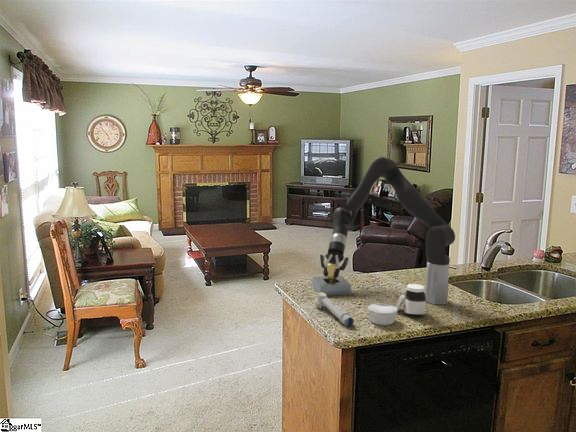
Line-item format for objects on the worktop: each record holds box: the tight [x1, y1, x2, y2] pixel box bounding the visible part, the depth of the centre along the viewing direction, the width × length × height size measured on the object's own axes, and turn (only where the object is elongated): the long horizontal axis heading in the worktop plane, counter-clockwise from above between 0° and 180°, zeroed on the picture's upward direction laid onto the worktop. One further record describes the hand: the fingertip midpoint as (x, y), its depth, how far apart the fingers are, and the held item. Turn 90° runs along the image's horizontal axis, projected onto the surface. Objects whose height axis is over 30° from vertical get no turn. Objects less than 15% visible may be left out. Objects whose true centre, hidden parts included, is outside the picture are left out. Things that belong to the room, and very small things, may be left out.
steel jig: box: [312, 275, 352, 296], centre depth 221 cm, size 14×14×4 cm
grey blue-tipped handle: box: [314, 292, 355, 327], centre depth 190 cm, size 5×7×25 cm
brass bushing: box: [326, 262, 337, 283], centre depth 220 cm, size 4×4×10 cm
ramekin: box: [367, 302, 398, 326], centre depth 185 cm, size 11×11×5 cm
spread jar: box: [394, 283, 427, 318], centre depth 193 cm, size 12×11×12 cm
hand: (330, 276), depth 218 cm, fingers closed on brass bushing, 4 cm apart
